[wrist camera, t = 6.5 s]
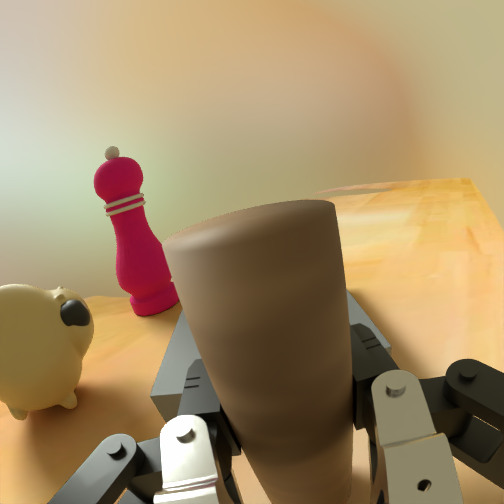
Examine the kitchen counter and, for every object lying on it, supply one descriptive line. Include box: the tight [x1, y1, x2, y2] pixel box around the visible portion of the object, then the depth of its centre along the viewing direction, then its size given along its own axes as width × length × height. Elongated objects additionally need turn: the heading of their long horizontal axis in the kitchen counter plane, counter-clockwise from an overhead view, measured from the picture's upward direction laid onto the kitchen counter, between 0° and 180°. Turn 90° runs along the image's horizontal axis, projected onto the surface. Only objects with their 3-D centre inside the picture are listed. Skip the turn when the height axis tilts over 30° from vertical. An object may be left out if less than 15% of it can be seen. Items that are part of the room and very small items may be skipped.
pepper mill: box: [94, 146, 179, 316], centre depth 32 cm, size 7×7×20 cm
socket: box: [150, 289, 391, 423], centre depth 21 cm, size 14×14×2 cm
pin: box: [162, 200, 353, 504], centre depth 8 cm, size 4×4×12 cm
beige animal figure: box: [0, 284, 94, 420], centre depth 17 cm, size 10×12×11 cm
